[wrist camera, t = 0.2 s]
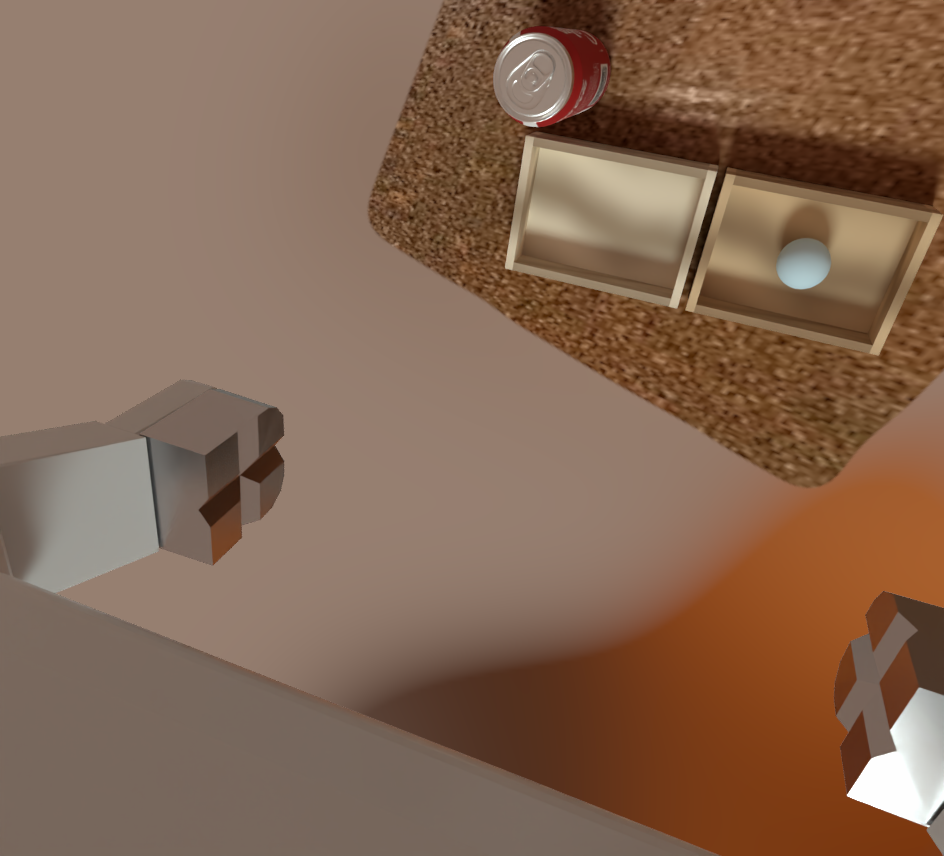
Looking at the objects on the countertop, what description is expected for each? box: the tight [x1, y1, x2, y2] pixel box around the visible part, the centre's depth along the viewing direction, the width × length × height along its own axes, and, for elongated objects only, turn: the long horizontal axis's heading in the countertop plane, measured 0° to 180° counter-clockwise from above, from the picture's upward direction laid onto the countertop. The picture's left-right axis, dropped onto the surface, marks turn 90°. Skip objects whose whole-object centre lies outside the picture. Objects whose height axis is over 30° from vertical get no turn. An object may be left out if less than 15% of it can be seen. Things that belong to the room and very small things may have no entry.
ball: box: [776, 238, 831, 289], centre depth 48 cm, size 3×3×3 cm
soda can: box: [493, 26, 611, 127], centre depth 45 cm, size 5×5×12 cm
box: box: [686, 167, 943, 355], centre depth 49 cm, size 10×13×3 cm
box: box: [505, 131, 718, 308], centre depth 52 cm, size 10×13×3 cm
